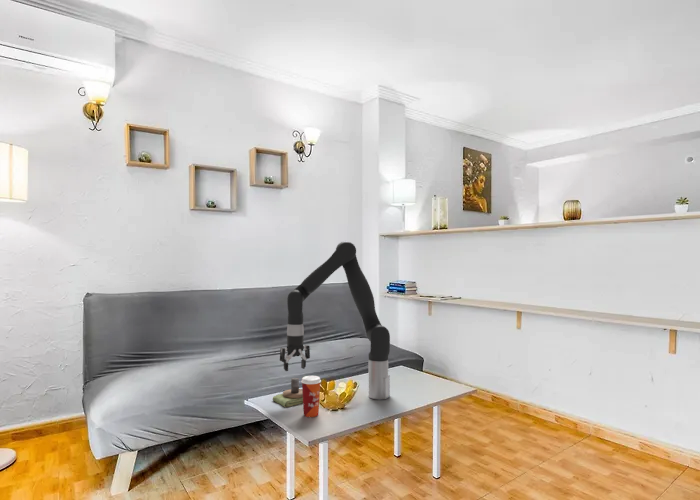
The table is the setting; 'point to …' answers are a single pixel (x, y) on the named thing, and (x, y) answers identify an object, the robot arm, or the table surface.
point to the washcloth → (287, 400)
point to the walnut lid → (293, 390)
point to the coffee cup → (311, 395)
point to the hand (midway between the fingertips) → (294, 369)
